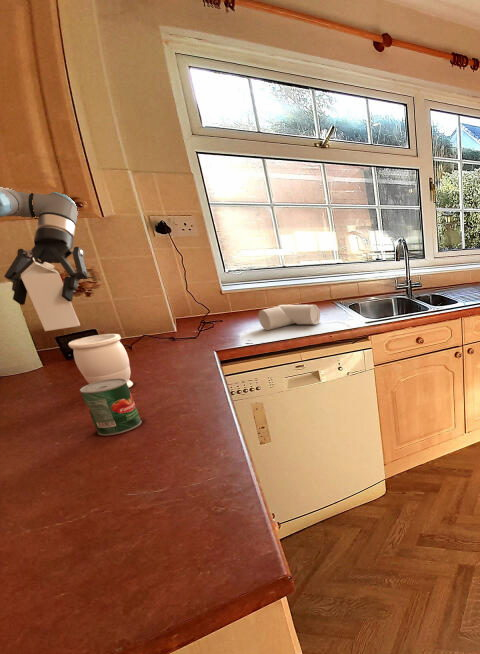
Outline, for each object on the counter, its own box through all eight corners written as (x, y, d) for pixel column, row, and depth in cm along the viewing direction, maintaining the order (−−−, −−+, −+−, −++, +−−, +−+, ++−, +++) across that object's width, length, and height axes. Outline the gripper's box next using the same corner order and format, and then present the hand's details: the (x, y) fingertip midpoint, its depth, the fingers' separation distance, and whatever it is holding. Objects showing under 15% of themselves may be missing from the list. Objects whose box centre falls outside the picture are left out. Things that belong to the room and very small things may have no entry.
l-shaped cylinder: (301, 314, 193) (257, 324, 178) (299, 292, 188) (254, 301, 173) (326, 328, 186) (283, 340, 170) (325, 305, 181) (281, 316, 166)
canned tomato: (100, 425, 101) (82, 383, 97) (142, 416, 105) (127, 375, 101) (95, 439, 95) (76, 395, 91) (141, 428, 99) (124, 386, 95)
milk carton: (45, 331, 116) (13, 261, 108) (44, 327, 120) (13, 258, 113) (80, 326, 120) (52, 258, 113) (78, 321, 125) (51, 256, 118)
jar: (123, 379, 127) (105, 331, 121) (146, 384, 124) (129, 335, 118) (80, 394, 118) (58, 342, 112) (103, 399, 114) (82, 346, 109)
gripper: (110, 242, 129) (102, 304, 121) (16, 245, 122) (1, 311, 114) (94, 224, 122) (84, 289, 114) (-7, 227, 116) (-24, 296, 108)
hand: (43, 300), depth 114 cm, fingers closed on milk carton, 9 cm apart
